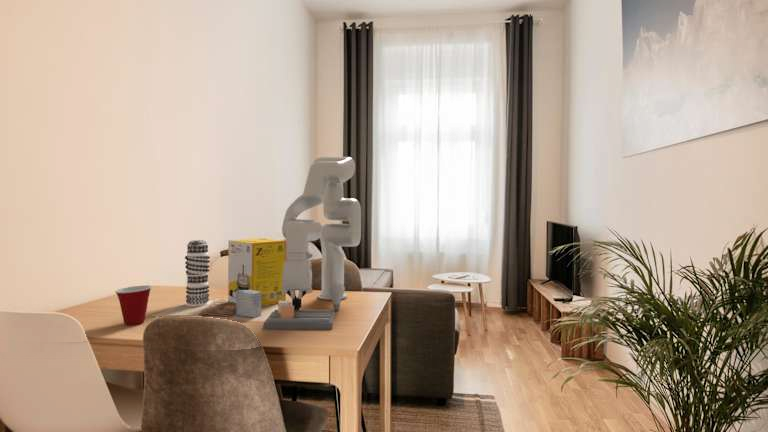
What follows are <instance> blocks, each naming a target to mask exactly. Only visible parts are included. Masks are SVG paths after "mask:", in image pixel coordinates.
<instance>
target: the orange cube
mask: <svg viewBox="0 0 768 432" xmlns="http://www.w3.org/2000/svg"><path fill="white" fill-rule="evenodd" d="M281 318H294V306H292V305H291V306H289V305H282V307H281Z"/></svg>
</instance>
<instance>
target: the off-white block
mask: <svg viewBox="0 0 768 432" xmlns="http://www.w3.org/2000/svg"><path fill="white" fill-rule="evenodd" d="M277 304H278V305H277V310H278V313H281V307H282V305H289V306H292V300H286V301H279V302H278V303H277Z"/></svg>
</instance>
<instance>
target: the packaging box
mask: <svg viewBox="0 0 768 432" xmlns="http://www.w3.org/2000/svg"><path fill="white" fill-rule="evenodd" d="M227 243H228V244H227V245H228V246H227V247H228V249H227V250H228V253H227V254H228V260H227V261H228V272H227V275H228V278H227V280H228V281H227V282H228V286H227V287H228V288H227V289H228V290H227V295H228V296H227V301H231V302H234V303H233V304H235V303H236V292H238V291H241V290H252V291H260V292H261V307H263V306H271V305H274V304H275V305H276V304H278V302H279V301H287V299H286V297H287V295H286V294H285V293H282V292H281V289H282V272H283V265H284V261H285V260H286V240H283V239H275V238H267V237H266V238H265V237H264V238H263V237H261V238H245V239H243V238H242V239H230V240H229V239H228V242H227ZM231 302H230V303H231Z"/></svg>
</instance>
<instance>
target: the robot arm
mask: <svg viewBox="0 0 768 432" xmlns="http://www.w3.org/2000/svg"><path fill="white" fill-rule="evenodd" d="M355 172H356V164H355V161H354V159H353V158H352V157H351V156H322V157H321V156H320V157H317V158H315V160H314V161H313V163H312V164H311V165H310V167H309V171H308V174H307V176H306V181H305V184H304V190H303V192H302V194H301V195H299V196H298V197H297V198H296V199H294V201H293V202H292V203H290V205H289V206H288V207H287V209H286V211H285V215H284V218H283V222H282V226H281V233H282V236H283V238H285V239H286V240H285V241H286V260H285V261H284V265H283V272H282V289H281V292H282V293H285V294H287V295H288V296H289V297H290V298H291V306H294V311H295V310H297V311H299V310H301V309H300V308H302V298H303V297H304V296H305V295H307V294H311V293H313V292H314V291H313V269H312V263H311V260H309V259H312V258H313V253H310V252H309V242H313V241H317V240H319V239H320V247H321V292H320V293H317V298H318V299H319V300H320V299H321V300H325V301H326V300H327V301H332V297H331V295H330V293H329V286H330V284H331V283H333V282H335V281H338V282H341V283H342V284H343V285H344V284H345V278H344V277H345V255H344V252H343V251H342V250H341V248H340V247H349V248H351V247H352V248H353V247H358V246H359V245H360V242H361V239H362V209H361V203H360V202H359V200H358V199H356V198H347V197H346V198H345V197H344V185H343V184H344V183H346V182H347V181H349V180H350V179H351V178H352V177H353V176H354V174H355ZM322 203H323V205H322V206H323V216H324V218H325V219H326V220H329V221H342V222H343V221H344V222H345V221H346V222H348V223H326V224H324V225H322V224H321V222H319V220H316V219H315V220H314V219H300V218H299V219H298V217H299V216H300V215H301V214H302V213H304V212H305V211H308V210H310V209H312V208H314V207H317V206H319V205H321V204H322ZM344 286H345V285H344ZM296 291H298V296H297V294H296ZM347 297H348V293H346V292H344V294H343V296H342V298H341V300H344V299H347Z"/></svg>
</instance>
